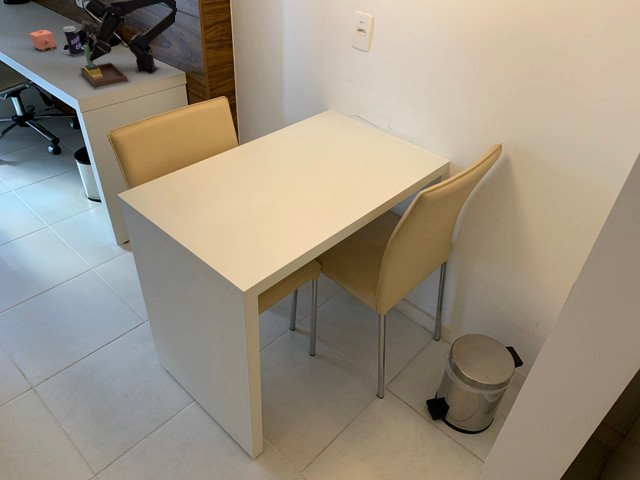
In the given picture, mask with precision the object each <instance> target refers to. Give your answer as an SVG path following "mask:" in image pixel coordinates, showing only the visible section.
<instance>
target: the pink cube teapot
mask: <svg viewBox="0 0 640 480" xmlns="http://www.w3.org/2000/svg"><path fill="white" fill-rule="evenodd" d="M29 35H30V36H29V37H30V39H31V42H32V44H33V46H34V48H36V49H37V50H41V51H42V52H44V51H46V49H50V50H54V48H55V47H57V43H56V41H55V37H54V34H53V32H52V31H49V30H47V29H39V30H37V31H33V32H29Z"/></svg>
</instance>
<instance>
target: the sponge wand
mask: <svg viewBox="0 0 640 480" xmlns="http://www.w3.org/2000/svg"><path fill="white" fill-rule="evenodd" d="M82 50H83V52H84V55H85V60H86V63H87V65H84V67H83V68H84V69H85V72H86V73H87V74H88V75H89V76H90V77H91V75H96V74H101V71H100V69H99V68H98V67H97V66H96V63H94V60H93V61H92V62H91V61H89V58H90V56H91V53H92V52H90V49H89V46H88V45H87V44H83V45H82Z"/></svg>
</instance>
